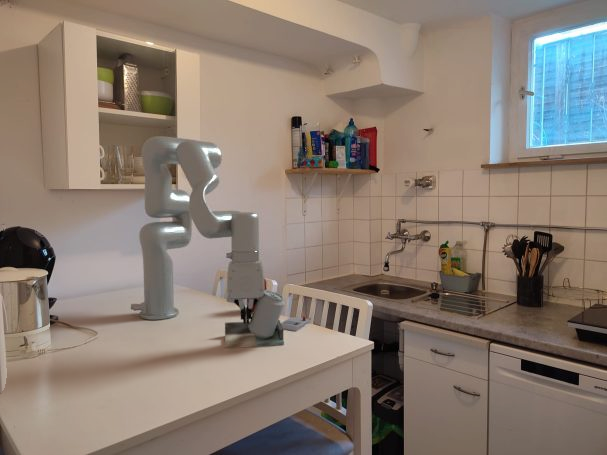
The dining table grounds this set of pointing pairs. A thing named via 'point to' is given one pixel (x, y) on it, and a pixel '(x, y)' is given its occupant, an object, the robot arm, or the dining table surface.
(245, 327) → the grey green tray
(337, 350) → the dining table surface
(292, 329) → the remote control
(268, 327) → the can
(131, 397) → the dining table surface
